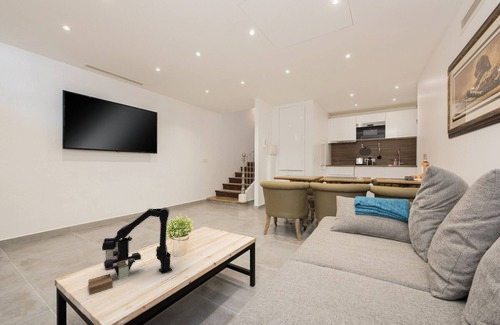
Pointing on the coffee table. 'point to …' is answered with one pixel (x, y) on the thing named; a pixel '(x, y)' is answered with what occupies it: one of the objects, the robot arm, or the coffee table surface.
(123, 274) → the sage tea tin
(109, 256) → the candy bar box
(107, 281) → the walnut block
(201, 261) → the coffee table surface
